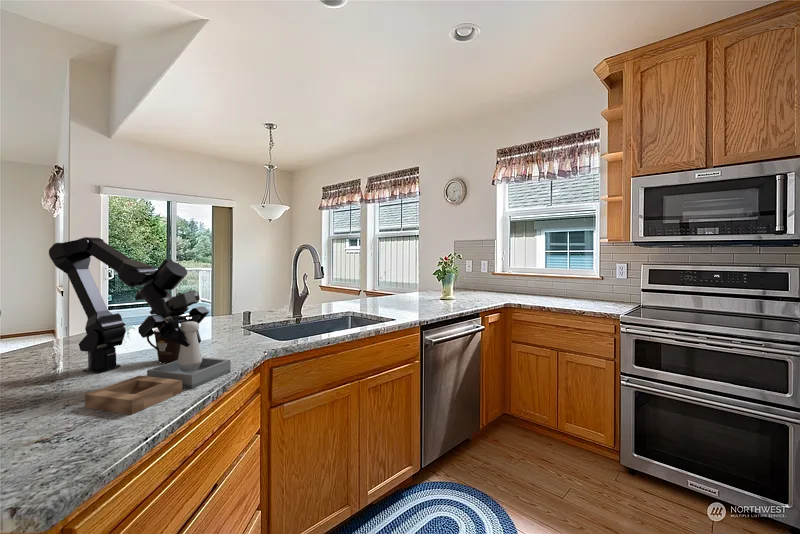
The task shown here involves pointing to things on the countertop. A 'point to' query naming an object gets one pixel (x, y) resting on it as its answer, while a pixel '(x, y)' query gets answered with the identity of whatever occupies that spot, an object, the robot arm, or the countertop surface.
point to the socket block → (133, 394)
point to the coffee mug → (165, 348)
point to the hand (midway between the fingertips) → (194, 344)
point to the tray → (193, 372)
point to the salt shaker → (190, 348)
